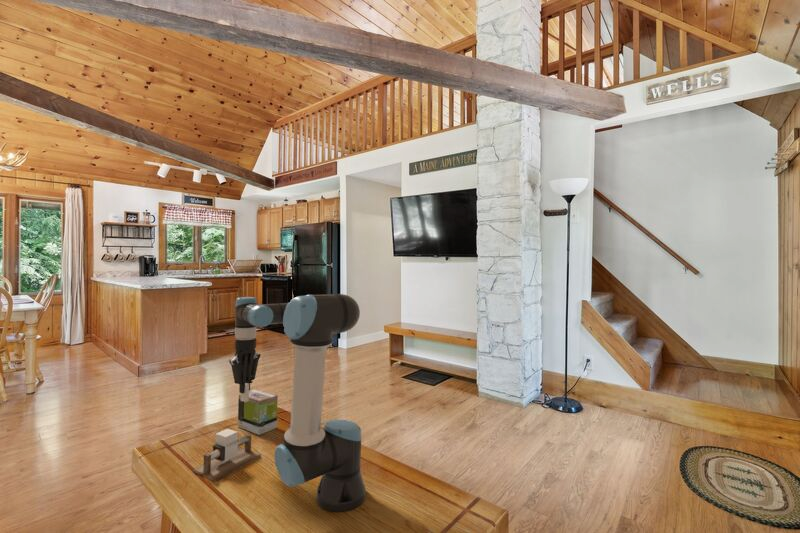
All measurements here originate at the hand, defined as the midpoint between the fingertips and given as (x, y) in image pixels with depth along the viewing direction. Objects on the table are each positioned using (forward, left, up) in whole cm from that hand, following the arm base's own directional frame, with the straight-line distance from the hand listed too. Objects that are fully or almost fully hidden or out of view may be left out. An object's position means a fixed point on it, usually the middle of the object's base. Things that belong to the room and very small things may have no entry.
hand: (244, 400), depth 144 cm
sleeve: (0, +7, -18) cm, 19 cm away
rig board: (0, +6, -21) cm, 22 cm away
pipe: (0, +6, -17) cm, 18 cm away
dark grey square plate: (0, +11, -17) cm, 20 cm away
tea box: (+15, -21, -21) cm, 34 cm away
